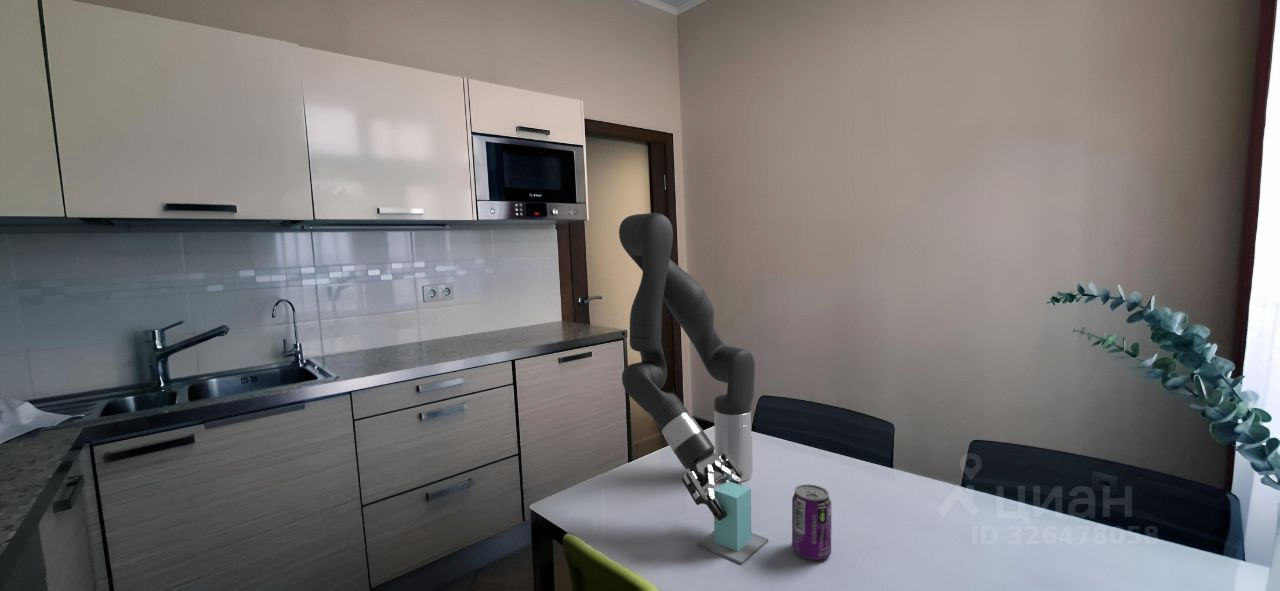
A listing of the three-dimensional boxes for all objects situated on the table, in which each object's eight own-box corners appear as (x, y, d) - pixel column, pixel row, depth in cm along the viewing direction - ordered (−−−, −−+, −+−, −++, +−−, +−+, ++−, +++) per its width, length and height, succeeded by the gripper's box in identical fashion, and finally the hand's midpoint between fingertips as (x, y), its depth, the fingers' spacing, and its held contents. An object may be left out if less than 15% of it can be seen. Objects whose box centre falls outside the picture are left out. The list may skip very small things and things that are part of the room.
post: (725, 524, 111) (725, 481, 110) (768, 541, 104) (768, 495, 103) (697, 545, 103) (696, 498, 103) (741, 564, 97) (741, 515, 96)
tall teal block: (728, 531, 107) (728, 481, 106) (751, 540, 104) (750, 488, 103) (714, 542, 103) (713, 490, 103) (737, 551, 100) (736, 498, 99)
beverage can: (834, 564, 96) (834, 501, 95) (793, 561, 97) (793, 498, 96) (828, 543, 103) (828, 484, 102) (790, 540, 104) (790, 482, 103)
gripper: (676, 440, 102) (727, 515, 96) (717, 421, 113) (765, 488, 106) (656, 459, 106) (703, 533, 100) (697, 439, 117) (742, 505, 110)
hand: (735, 509), depth 103 cm, fingers open, 8 cm apart
